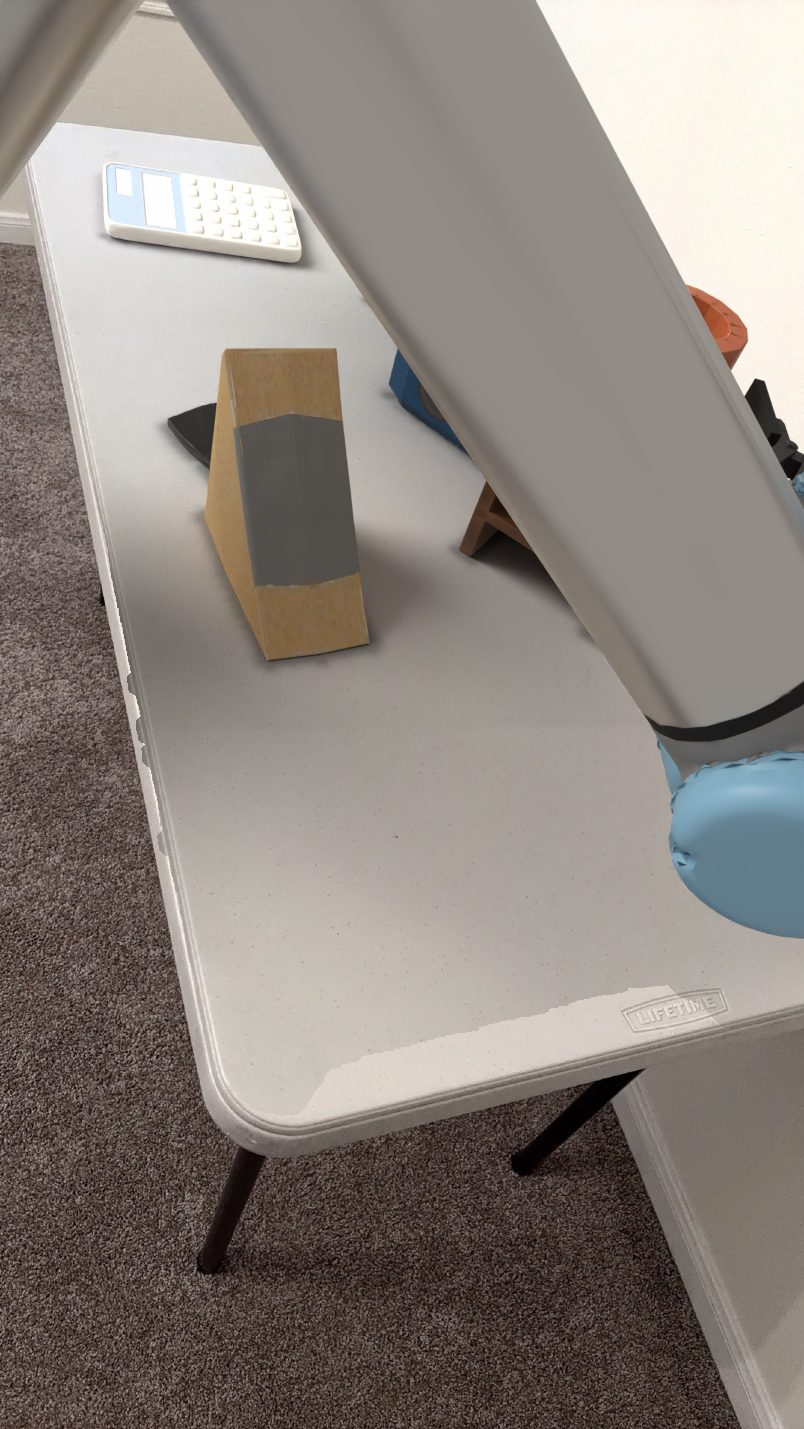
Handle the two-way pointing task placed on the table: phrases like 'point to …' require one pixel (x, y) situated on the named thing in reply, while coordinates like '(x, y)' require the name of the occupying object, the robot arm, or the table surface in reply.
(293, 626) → the sandwich container
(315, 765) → the table surface
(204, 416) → the dark sector wedge
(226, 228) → the calculator
